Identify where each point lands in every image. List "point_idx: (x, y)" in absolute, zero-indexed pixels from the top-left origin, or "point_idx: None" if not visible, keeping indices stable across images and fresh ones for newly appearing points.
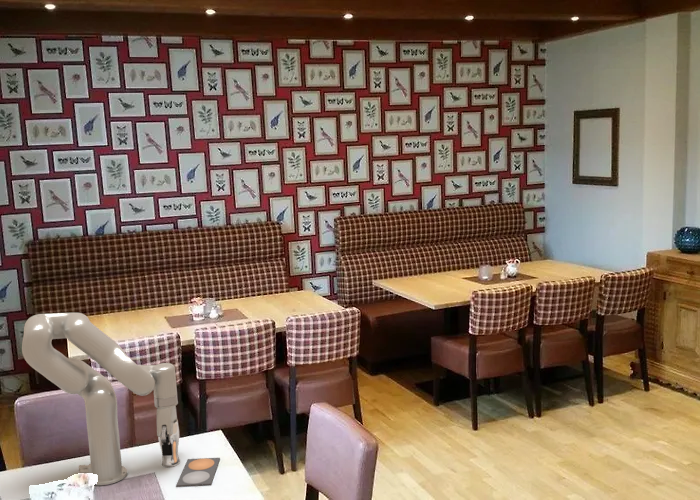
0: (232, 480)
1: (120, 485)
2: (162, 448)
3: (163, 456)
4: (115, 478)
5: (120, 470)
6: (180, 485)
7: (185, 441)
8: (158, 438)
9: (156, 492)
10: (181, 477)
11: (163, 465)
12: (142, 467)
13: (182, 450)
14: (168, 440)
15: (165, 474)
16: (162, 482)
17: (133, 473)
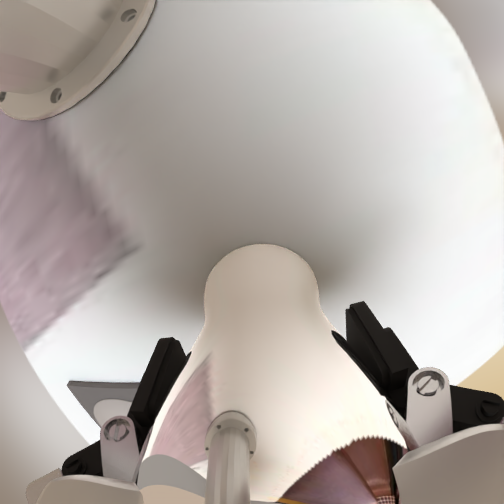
0: None
1: (4, 151)
2: (142, 383)
3: (211, 306)
4: (10, 103)
5: (32, 86)
6: (76, 395)
7: (500, 252)
8: (184, 404)
9: (19, 328)
10: (116, 394)
11: (210, 275)
12: (181, 132)
13: (427, 284)
14: None
15: (128, 318)
16: (68, 328)
17: (99, 125)
